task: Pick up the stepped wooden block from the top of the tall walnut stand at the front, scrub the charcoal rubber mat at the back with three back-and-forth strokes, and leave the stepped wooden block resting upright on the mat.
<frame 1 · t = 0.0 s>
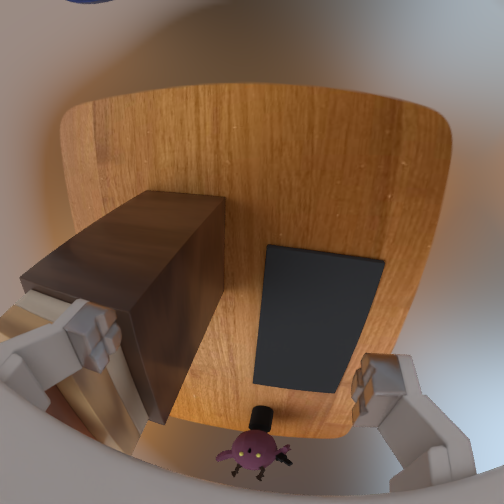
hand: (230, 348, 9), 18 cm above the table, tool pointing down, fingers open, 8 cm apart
riser: (184, 242, 28), on the table
figurine: (263, 410, 39), on the table
stepped wooden block: (90, 362, 14), point 16 cm above the table, touching riser
mat: (309, 333, 30), on the table
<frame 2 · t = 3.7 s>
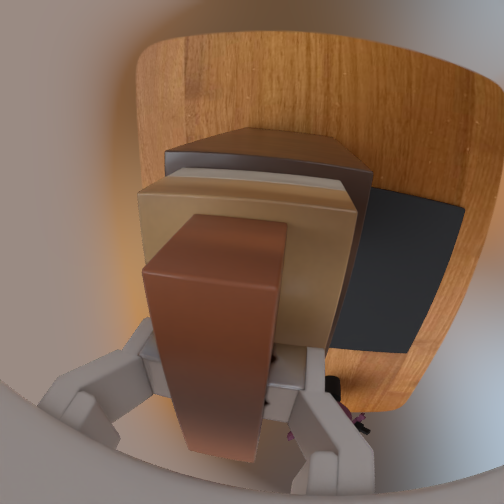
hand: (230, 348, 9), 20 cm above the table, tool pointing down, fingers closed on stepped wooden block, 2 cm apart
riser: (283, 184, 26), on the table
figurine: (328, 382, 38), on the table
stepped wooden block: (253, 276, 12), point 16 cm above the table, touching gripper, riser
mat: (395, 284, 29), on the table
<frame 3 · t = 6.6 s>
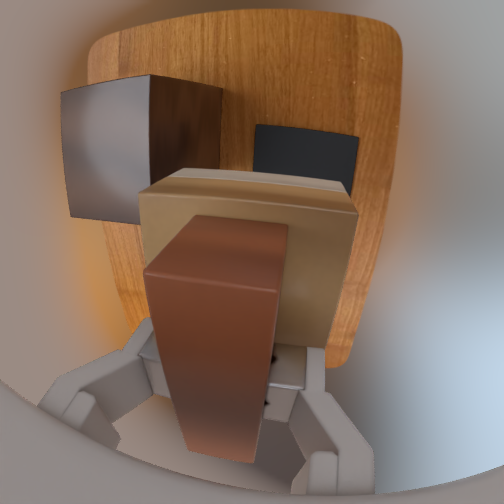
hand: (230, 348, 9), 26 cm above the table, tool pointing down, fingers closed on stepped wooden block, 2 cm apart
riser: (187, 130, 31), on the table
stepped wooden block: (253, 277, 12), point 22 cm above the table, touching gripper
mat: (298, 215, 33), on the table
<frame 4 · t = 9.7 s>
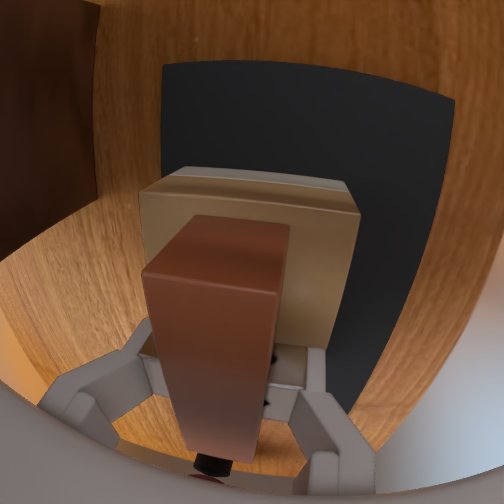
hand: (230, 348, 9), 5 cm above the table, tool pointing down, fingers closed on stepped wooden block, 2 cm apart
riser: (41, 110, 11), on the table
figurine: (220, 441, 22), on the table
stepped wooden block: (255, 276, 12), point 1 cm above the table, touching gripper
mat: (285, 299, 13), on the table
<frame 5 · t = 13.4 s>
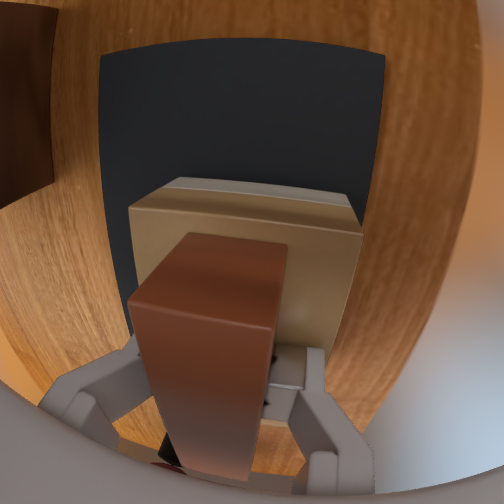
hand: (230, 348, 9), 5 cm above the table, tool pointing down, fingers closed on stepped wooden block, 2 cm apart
riser: (11, 105, 11), on the table
figurine: (186, 431, 22), on the table
stepped wooden block: (252, 291, 12), point 1 cm above the table, touching gripper
mat: (220, 276, 13), on the table
when the fingers open (4 cm above the table, at t = 16.1 s): stepped wooden block stays where it is, resting on mat.
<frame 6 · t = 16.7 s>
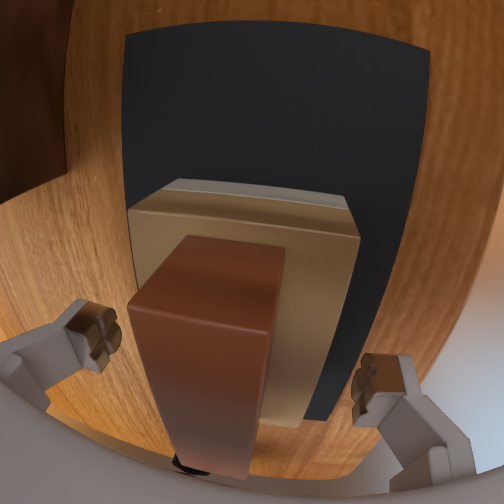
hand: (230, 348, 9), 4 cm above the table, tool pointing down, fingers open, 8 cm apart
riser: (20, 91, 10), on the table
stepped wooden block: (250, 291, 12), point 1 cm above the table, touching mat
mat: (253, 276, 12), on the table
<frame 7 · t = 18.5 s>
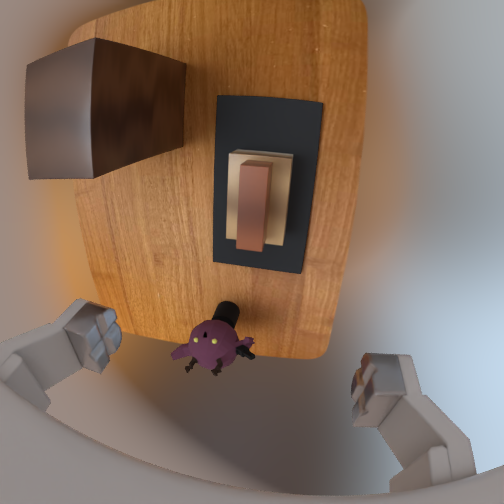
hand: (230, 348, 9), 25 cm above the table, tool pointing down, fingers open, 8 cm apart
riser: (153, 106, 29), on the table
figurine: (228, 310, 41), on the table
stepped wooden block: (262, 191, 31), point 1 cm above the table, touching mat
mat: (263, 186, 32), on the table
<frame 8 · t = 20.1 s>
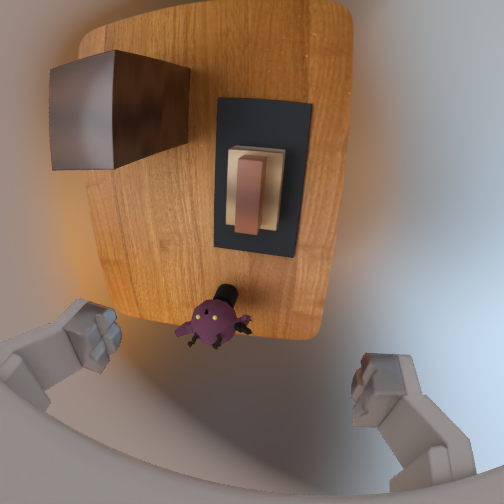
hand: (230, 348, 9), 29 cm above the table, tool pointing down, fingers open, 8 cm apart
riser: (160, 106, 33), on the table
figurine: (227, 292, 44), on the table
stepped wooden block: (257, 183, 35), point 1 cm above the table, touching mat
mat: (258, 179, 35), on the table
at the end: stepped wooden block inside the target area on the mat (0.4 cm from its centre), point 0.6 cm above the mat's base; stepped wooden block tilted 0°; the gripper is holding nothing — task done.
